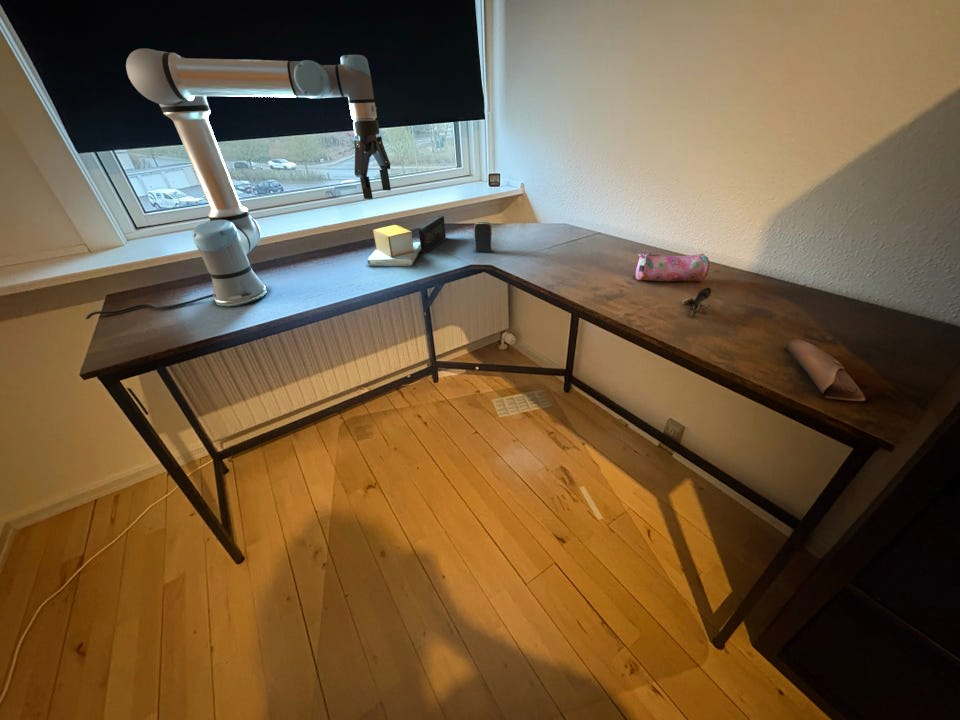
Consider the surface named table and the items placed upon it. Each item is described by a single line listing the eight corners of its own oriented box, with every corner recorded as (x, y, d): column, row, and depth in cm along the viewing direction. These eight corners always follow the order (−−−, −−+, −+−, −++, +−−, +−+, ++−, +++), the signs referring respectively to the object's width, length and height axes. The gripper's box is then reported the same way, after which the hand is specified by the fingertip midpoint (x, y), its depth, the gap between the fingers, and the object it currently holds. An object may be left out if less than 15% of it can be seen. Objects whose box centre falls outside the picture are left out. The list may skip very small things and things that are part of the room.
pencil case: (636, 284, 124) (641, 257, 119) (631, 274, 131) (636, 248, 126) (705, 286, 121) (714, 259, 116) (697, 275, 128) (705, 249, 123)
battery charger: (492, 249, 157) (492, 221, 151) (491, 252, 154) (491, 223, 148) (476, 249, 158) (474, 221, 152) (474, 252, 155) (473, 223, 149)
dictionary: (376, 249, 154) (372, 229, 149) (398, 244, 159) (395, 224, 154) (391, 257, 145) (387, 236, 141) (414, 251, 150) (411, 231, 146)
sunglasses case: (871, 401, 74) (867, 376, 71) (826, 411, 77) (821, 387, 75) (824, 351, 88) (819, 329, 86) (788, 361, 92) (782, 340, 89)
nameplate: (442, 238, 172) (440, 215, 167) (445, 238, 172) (443, 215, 166) (421, 253, 156) (418, 228, 151) (425, 253, 156) (422, 228, 150)
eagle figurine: (715, 316, 102) (716, 297, 108) (706, 296, 100) (707, 278, 105) (685, 324, 108) (687, 305, 113) (675, 305, 105) (678, 287, 110)
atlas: (368, 266, 146) (367, 259, 144) (382, 249, 162) (381, 243, 161) (411, 265, 145) (410, 259, 143) (421, 248, 161) (420, 242, 160)
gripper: (355, 122, 104) (370, 203, 117) (393, 117, 124) (403, 187, 136) (331, 122, 106) (349, 202, 118) (372, 118, 126) (384, 186, 138)
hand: (378, 194), depth 127 cm, fingers open, 13 cm apart
